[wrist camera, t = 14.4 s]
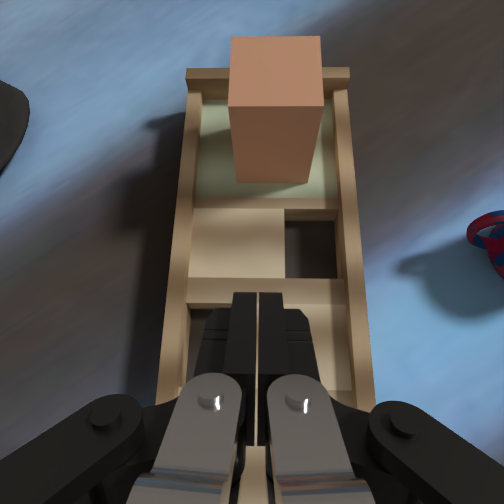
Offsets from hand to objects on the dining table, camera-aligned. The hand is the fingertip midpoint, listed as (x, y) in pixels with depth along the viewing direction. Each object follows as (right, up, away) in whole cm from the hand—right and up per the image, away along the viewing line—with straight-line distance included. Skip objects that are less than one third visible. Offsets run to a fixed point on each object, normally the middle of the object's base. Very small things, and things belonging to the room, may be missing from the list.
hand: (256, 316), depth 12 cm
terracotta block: (+2, +11, +21) cm, 24 cm away
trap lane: (+1, -2, +19) cm, 19 cm away
